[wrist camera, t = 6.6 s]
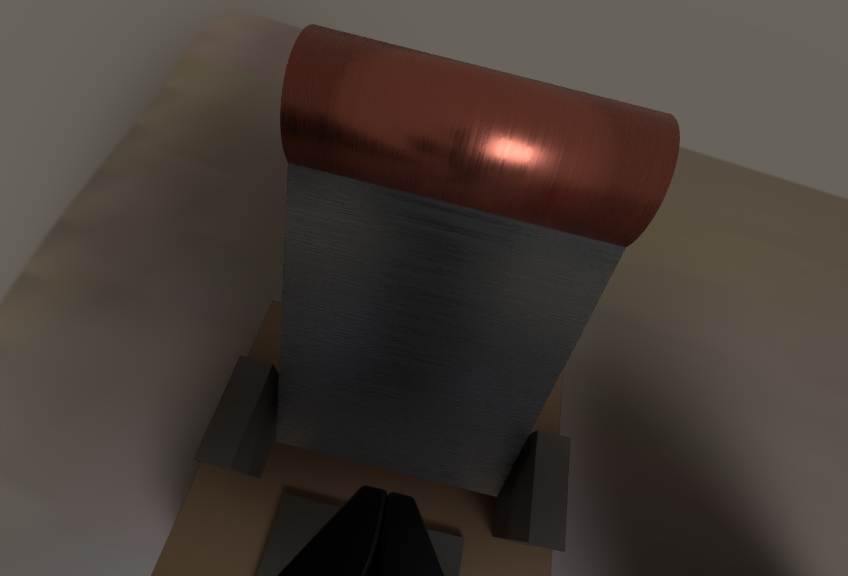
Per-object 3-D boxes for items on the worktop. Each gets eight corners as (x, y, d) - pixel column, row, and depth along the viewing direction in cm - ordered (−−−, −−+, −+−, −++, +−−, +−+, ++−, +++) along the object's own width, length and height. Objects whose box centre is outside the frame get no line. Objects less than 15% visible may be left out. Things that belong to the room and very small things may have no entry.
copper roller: (497, 511, 11) (701, 127, 6) (269, 454, 11) (283, 22, 6) (495, 436, 13) (647, 103, 8) (303, 388, 13) (335, 25, 8)
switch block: (508, 649, 13) (604, 739, 8) (191, 570, 13) (73, 607, 8) (532, 395, 17) (607, 341, 12) (287, 334, 17) (251, 252, 12)
